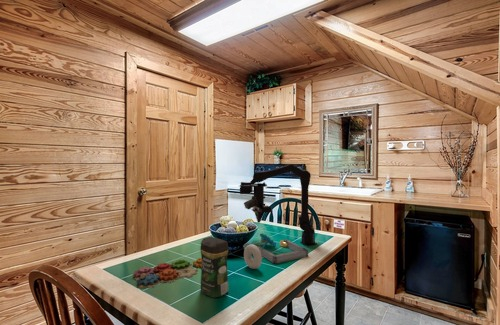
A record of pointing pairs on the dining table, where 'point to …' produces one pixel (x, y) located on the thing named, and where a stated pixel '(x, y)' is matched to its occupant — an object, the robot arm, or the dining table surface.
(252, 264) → the donut
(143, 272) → the gear puzzle
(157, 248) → the dining table surface
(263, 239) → the gear
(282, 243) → the gold rounded dome
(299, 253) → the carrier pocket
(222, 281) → the coffee jar
